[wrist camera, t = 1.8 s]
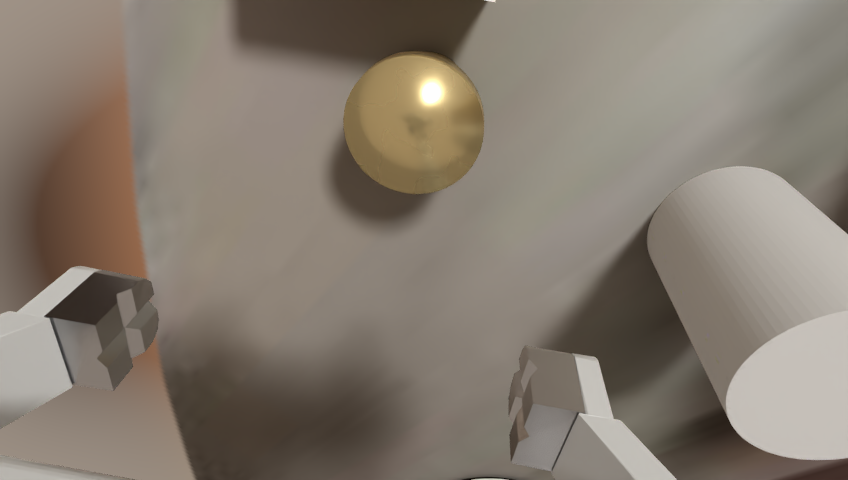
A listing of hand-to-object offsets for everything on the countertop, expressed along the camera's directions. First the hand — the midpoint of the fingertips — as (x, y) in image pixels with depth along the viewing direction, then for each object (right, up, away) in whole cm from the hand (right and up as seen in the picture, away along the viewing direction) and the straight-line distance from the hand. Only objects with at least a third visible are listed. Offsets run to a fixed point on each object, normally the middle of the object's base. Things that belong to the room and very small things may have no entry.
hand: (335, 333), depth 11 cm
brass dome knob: (+2, +10, +16) cm, 19 cm away
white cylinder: (+19, +3, +19) cm, 27 cm away
